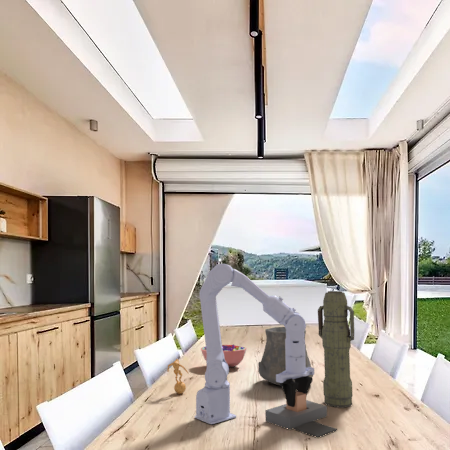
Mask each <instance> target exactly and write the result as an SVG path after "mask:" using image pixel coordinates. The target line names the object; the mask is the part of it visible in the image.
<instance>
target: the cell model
mask: <svg viewBox="0 0 450 450" xmlns="http://www.w3.org/2000/svg"><path fill="white" fill-rule="evenodd" d="M222 349H223V353H224V358H225V361H226V363H227V364H228V366H229V368H234V367H237V366H238V365H239V364H240V363H242V361H243V360H244V357H245V354H246V351H247V347H244V346H240V345H235V344H222ZM200 351H201V354H202V356H203V359H204V360H205V361H206V359H207V351H206V346H202V347H200Z"/></svg>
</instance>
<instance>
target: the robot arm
mask: <svg viewBox="0 0 450 450" xmlns="http://www.w3.org/2000/svg"><path fill="white" fill-rule="evenodd" d="M229 284H231V287H236V288H241V289H243V290H244V291H245V292H247V294H249V295H250V296H252V298H255V300H257V301H258V302H260V303H261V304H262V310H263V311H264V312H265V313H266V314H267V315H268V316H269V317H271V318H272V319H273V320H274V321H276V322H277V323H278V324H280V325H283V327H285V328H286V339H285V361H286V370H285V371H283V372H282V373H280V374H277V375H276V382H279V383H280V385H279V386H280V387H281V389H282V391H283V394H284V395H285V401H286V400H287V404H288V406H291V407H294V406H295V395H296V391H298V392H302V393H305V394H306V398H307V397H308V392H309V389H310V386H311V385H312V383H313V377H309V375H313V376H314V375H315V367H312V366H311V367H306V359H305V344H306V334H305V333H304V331H305V330H306V328H307V324H306V321H305V319H304V317H303V316H302V315H301V314H300V313H299V312H297V309H296V308H295V307H291V306H290V305H288V304H287V303H286V302H285V301H283V300H284V298H283V297H281V296H279V297H278V296H277V295H276V294H275V295H269V294H268V293H267V292H266V291H264V290H263V289H262V288H260V286H258V285H257V284H256V283H255V282H254V281H253V280H251V279H250V278H249V277H248V276H247V275H245V274H244V273H243V272H241V271H239V270H237V269H236V268H233V267H232V266H231V265H229V264H228V263H218V264H216V265H214V266H213V267H212V269H210V270H209V271H208V273H207V276H206V277H205V279H204V282H203V283H202V286H201V287H200V290H199V301H200V302H199V303H200V308H201V316H202V324H203V325H202V326H203V332H204V341H205V347H206V351H207V359H206V360H205V362H206V370H205V372H204V381H205V383H204V386H203V388H201V389H199V390H197V392H196V395H195V402H196V403H195V409H196V410H195V412H196V413H195V415H194V419H197V420H198V421H202V422H205V423H206V424H208V425H214V424H217V423H221V422H225V421H228V420H231V419H235V418H237V415H236V414H233V413H231V395H230V393H231V391H230V390H231V385H230V382H229V381H228V375H229V374H230V373H229V372H230V367H229V366H228V364H227V363H226V361H225V358H224V353H223V349H222V345H223V342H222V335H221V327H220V325H221V324H220V318H219V312H218V311H219V310H218V304H217V303H218V302H217V296H218V295H219V294H220V292H221V291H222V290H223V288H225V287H226V286H228V285H229ZM304 337H305V339H304ZM293 379H294V380H295V382H294V381H293Z"/></svg>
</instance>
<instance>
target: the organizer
mask: <svg viewBox="0 0 450 450" xmlns="http://www.w3.org/2000/svg"><path fill="white" fill-rule="evenodd" d="M327 406H328V405H326V404H321V403H318V402H315V401H310V400H307V399H306V407H307V409H306V410H303V411H300V412H295V411H292V410H289V409H287V408H286V403H285V404H281V405H279V406H275V407H271V408H269V409H265V413H264V415H265V422H266V421H267V422H266V423H269V422H270V423H269V424H272V423H273V424H272V425H275V424H276V425H275V426H278V425H279V426H278V427H280V426H282V427H281V428H283V427H285V428H284V429H286V428H288V429H287V430H289V429H291V430H293V429H292V428H295V427H298V426H301V425H304V424H306V423H309V422H312V421H314V422H316V421H318V420H317V419H319V420H321V419H320V418H322V419H324V418H327V417H328V410H327V409H328V407H327ZM326 416H327V417H326ZM323 417H324V418H323ZM315 420H316V421H315Z"/></svg>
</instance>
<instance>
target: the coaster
mask: <svg viewBox="0 0 450 450" xmlns="http://www.w3.org/2000/svg"><path fill="white" fill-rule="evenodd" d="M294 429H295V430H294ZM294 429H293V430H294V431H297V430H299V431H301V432H300V433H302V432H304V433H303V434H305V433H307V434H306V435H308V434H310V435H309V436H311V435H313V436H312V437H314V436H316V437H320V436H322V437H324V436H323V435H325V434H327V435H329V434H328V433H330V432H332V433H334V432H337V431H338V428H335V427H333V426H329V425H327V424H323V423H320V422H317V421H312V422H309V423H306V424H304V425H301V426H298V427H295V428H294ZM336 430H337V431H336ZM299 431H298V432H299ZM333 431H334V432H333ZM330 434H331V433H330ZM325 436H326V435H325ZM316 437H315V438H316ZM320 438H321V437H320Z"/></svg>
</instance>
